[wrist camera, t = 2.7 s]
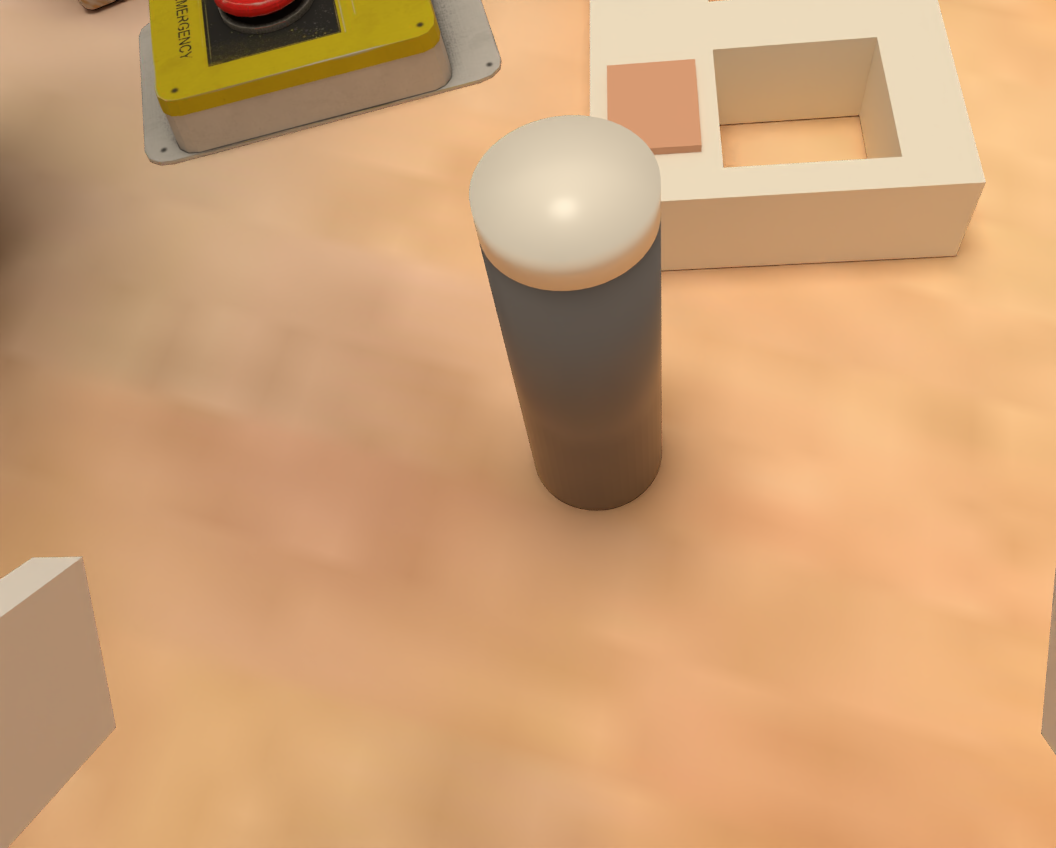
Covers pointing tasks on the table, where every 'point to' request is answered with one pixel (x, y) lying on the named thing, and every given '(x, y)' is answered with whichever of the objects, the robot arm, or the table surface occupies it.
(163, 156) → the emergency button
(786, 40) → the socket block
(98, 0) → the decorative jar
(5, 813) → the robot arm
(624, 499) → the capped grey bottle
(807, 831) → the table surface
